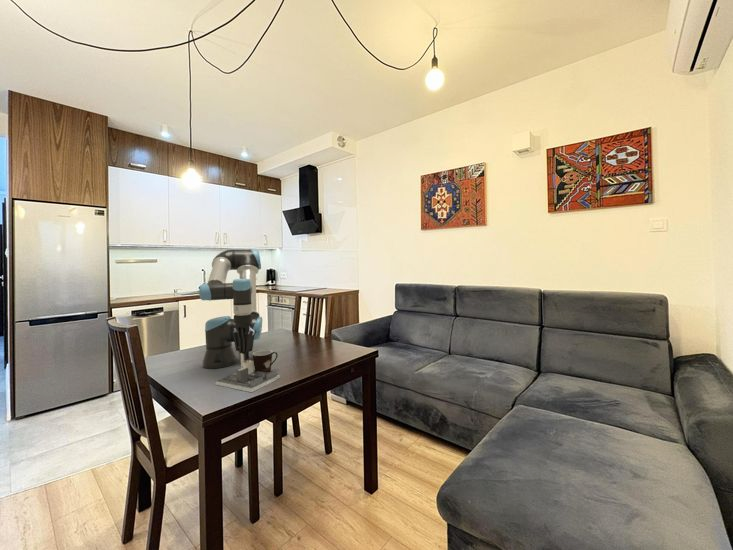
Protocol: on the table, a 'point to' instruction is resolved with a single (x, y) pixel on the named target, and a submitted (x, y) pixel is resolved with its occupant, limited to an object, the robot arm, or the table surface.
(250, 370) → the fader
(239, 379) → the block
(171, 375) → the table surface
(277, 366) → the table surface
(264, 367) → the coffee mug
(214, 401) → the table surface
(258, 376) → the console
